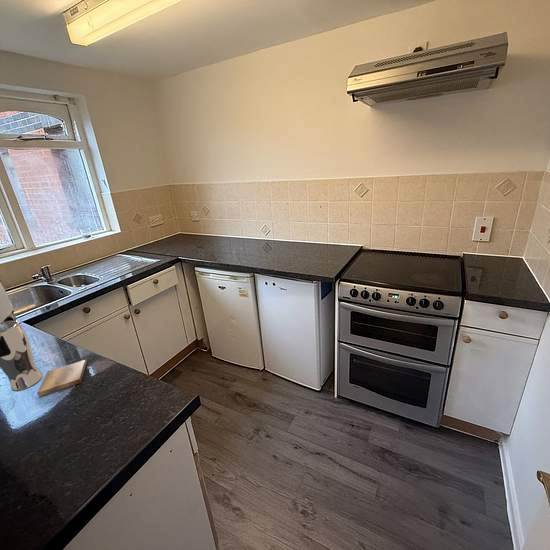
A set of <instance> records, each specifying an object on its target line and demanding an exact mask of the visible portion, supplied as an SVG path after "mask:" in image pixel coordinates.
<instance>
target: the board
mask: <svg viewBox="0 0 550 550" xmlns="http://www.w3.org/2000/svg"><path fill="white" fill-rule="evenodd" d="M86 367H87V360H86V359H83V360H79V361H76V362H73V363H70V364H66V365H63V366H60V367H57V368H54V369H51V370H47V372H46V373H45V376H44V377H43V379H42V382H41V384H40V386H39V388H38V390H37V393H36V394H37V395H38V397H42V396H45V395H48V394H52V393H55V392H57V391H60V390H64V389H66V388H69V387H73V386H76V385H79V384H81V383H82V381H83V378H84V374H85V371H86Z"/></svg>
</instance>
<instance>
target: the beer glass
mask: <svg viewBox="0 0 550 550" xmlns="http://www.w3.org/2000/svg"><path fill="white" fill-rule="evenodd" d="M0 337H1V338H4V340H5V342H6V343H7V345H8V347H9V349H10V351H11V353H10V355H7V356H3V357H0V370H1V371H2V372H3V373H4V374H5V376H6V377H7V379H8V382H9V386H10V389H11V391H13V392H22V391H25V390H28V389H30V388H33V387H35V386H36V385H37V384H39V383H40V382H41V381H42V380H43V379H44V374H43V373H42V372H41V370H40V369H39V368H38V367H37V365H36V363H35V360H34V355H33V351H32V347H31V343H30V341H29V338H28V336H27V334H26V333H25V331H24V330H23V328H22V326H21V325H20V323H19V321H18V320H17V321H15V320H13V321H6V322H2V323H1V324H0Z"/></svg>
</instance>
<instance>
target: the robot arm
mask: <svg viewBox="0 0 550 550" xmlns="http://www.w3.org/2000/svg"><path fill="white" fill-rule="evenodd" d="M17 319H18V318H17V316H16V315H15V310H14V305H13V303H12V300H11V299H10V296H9V295H8V293H7V291H6V289H5V287H4V286H3V284H2V283H1V282H0V324H1V323H2V322H6V321H13V320H15V321H18V320H17ZM10 353H11V351H10V349H9V347H8V345H7V343H6V342H5V340H4V338H1V337H0V357H3V356H7V355H10Z"/></svg>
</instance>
